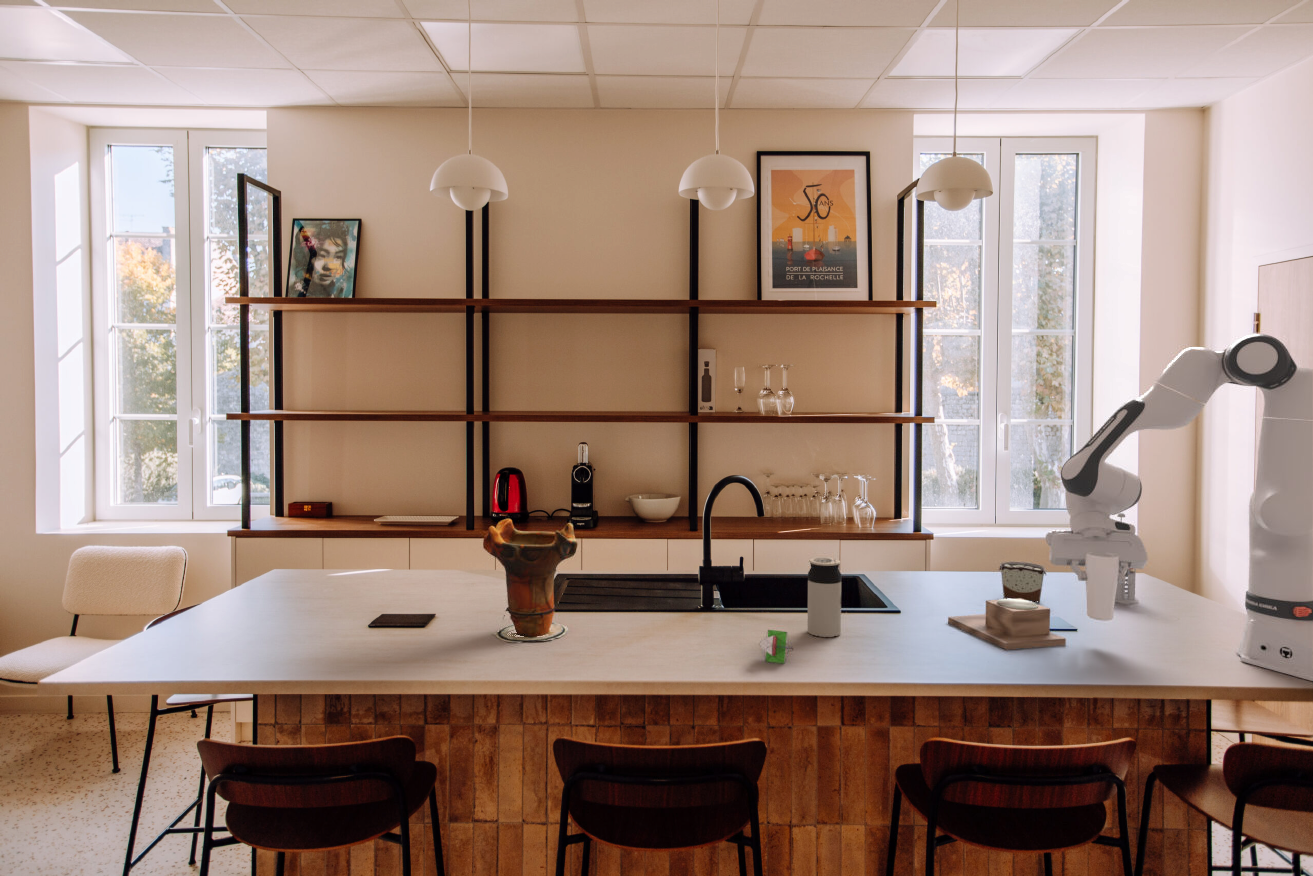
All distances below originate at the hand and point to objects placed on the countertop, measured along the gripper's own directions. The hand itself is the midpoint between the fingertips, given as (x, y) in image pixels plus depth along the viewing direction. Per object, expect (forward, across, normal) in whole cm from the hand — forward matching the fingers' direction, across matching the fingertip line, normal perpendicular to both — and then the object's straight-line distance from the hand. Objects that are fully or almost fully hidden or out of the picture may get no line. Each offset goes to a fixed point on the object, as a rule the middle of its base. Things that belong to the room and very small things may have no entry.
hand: (1102, 580), depth 175 cm
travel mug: (+18, -62, +2) cm, 65 cm away
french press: (-23, +15, +45) cm, 53 cm away
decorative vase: (+32, -131, -14) cm, 136 cm away
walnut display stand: (+8, -20, +12) cm, 25 cm away
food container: (-19, -11, +40) cm, 45 cm away
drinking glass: (+6, 0, +7) cm, 9 cm away
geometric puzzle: (+34, -70, -14) cm, 80 cm away
